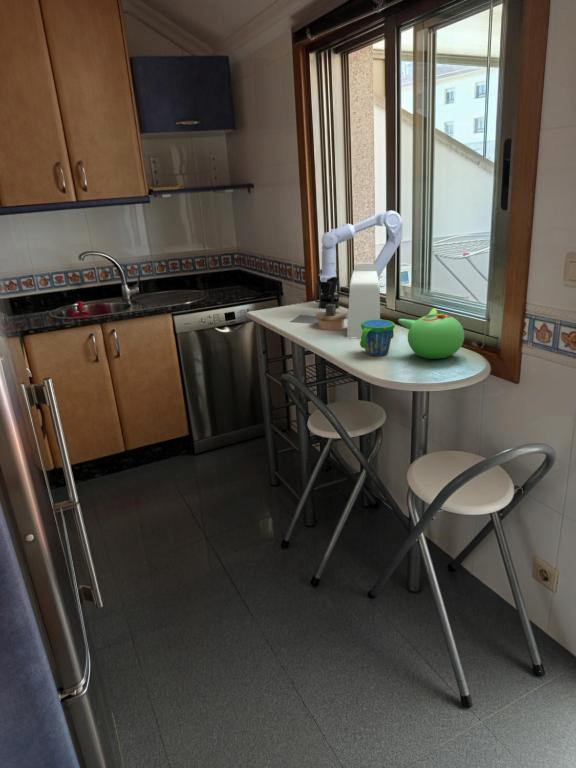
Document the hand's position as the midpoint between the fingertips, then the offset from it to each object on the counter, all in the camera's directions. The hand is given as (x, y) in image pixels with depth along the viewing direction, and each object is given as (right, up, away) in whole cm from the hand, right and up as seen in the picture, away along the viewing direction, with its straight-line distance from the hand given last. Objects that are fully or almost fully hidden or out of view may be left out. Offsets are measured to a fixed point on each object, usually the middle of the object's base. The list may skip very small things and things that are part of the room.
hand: (328, 296), depth 221 cm
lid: (0, -10, -11) cm, 15 cm away
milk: (+12, -17, -19) cm, 28 cm away
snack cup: (+13, -26, -42) cm, 51 cm away
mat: (-8, -9, +2) cm, 12 cm away
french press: (+2, -1, +25) cm, 25 cm away
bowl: (0, -14, -10) cm, 17 cm away
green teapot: (+30, -27, -48) cm, 62 cm away
